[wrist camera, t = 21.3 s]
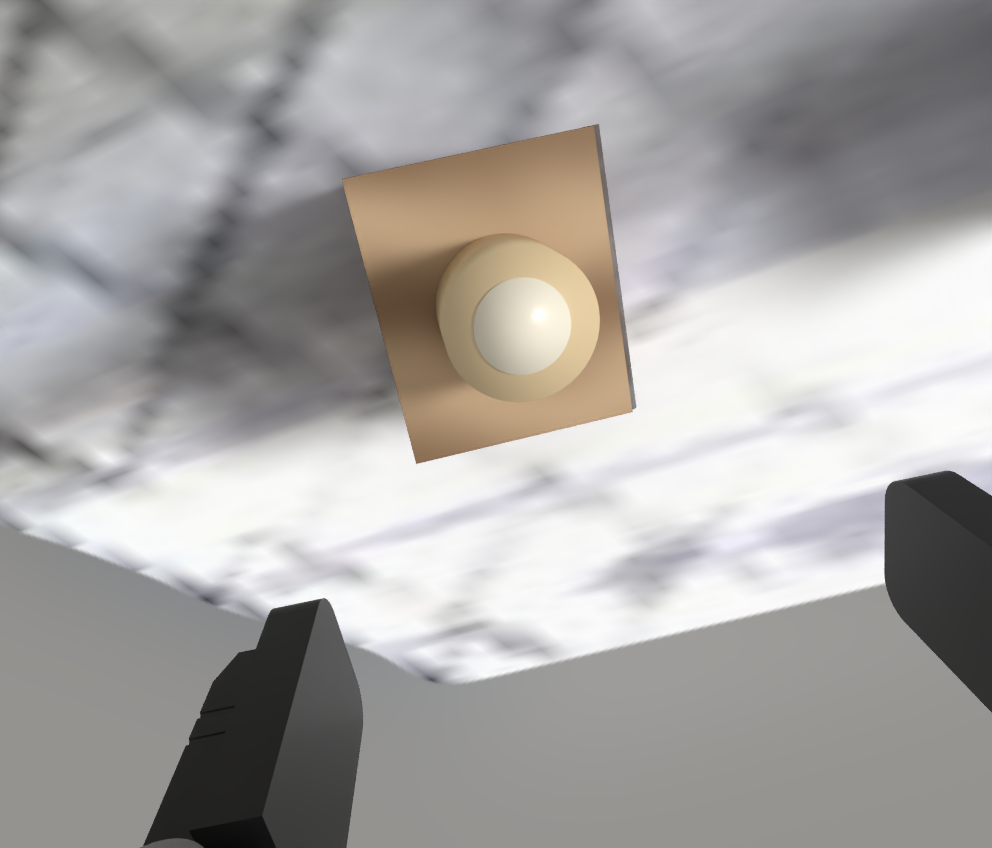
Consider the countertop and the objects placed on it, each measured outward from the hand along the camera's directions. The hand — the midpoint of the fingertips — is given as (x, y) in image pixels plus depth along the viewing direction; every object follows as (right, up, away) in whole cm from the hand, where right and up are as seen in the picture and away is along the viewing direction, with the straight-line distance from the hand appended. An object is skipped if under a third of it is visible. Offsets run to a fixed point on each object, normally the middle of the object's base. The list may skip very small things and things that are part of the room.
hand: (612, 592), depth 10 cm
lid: (-1, +7, +19) cm, 21 cm away
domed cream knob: (-1, +7, +18) cm, 20 cm away
